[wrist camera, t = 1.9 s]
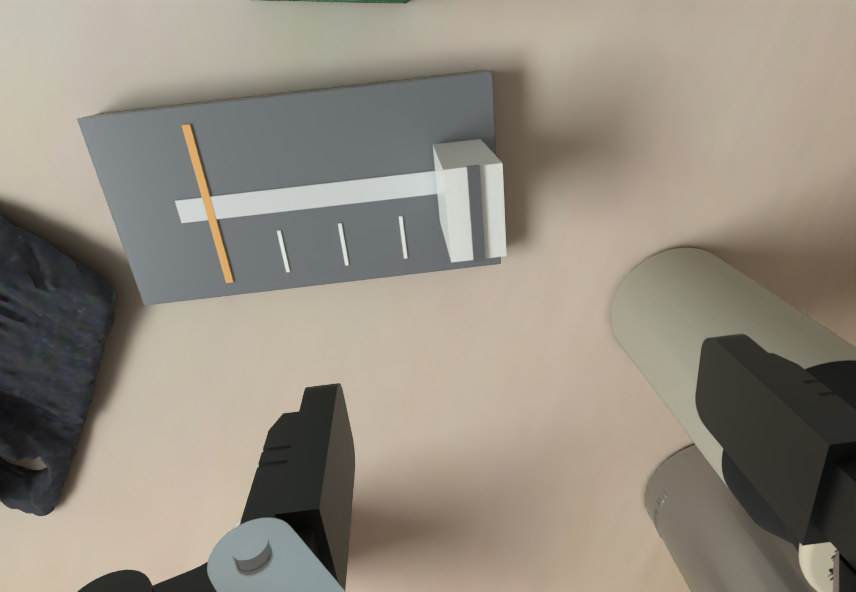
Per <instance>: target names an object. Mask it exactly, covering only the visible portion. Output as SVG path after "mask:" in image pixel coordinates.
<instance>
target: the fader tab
mask: <svg viewBox="0 0 856 592" xmlns="http://www.w3.org/2000/svg"><path fill="white" fill-rule="evenodd" d="M433 154H434V164H435V175H436V185H437V196H438V206H439V217H440V223H441V227H442V231H443V234H444V238H445V241H446V245H447V249H448V252H449V256H450V260H451V263H452V262H460V261H469V260H473V262H474V263H476V262H485V259H486V258H494V257H503V256H506V232H505V208H504V184H503V163H502V162H501V161H500V160H499V159H498V158H497V156H496V155H495V154H494V153H493V152H492V151H491V150H490V149H489V148H488V147H487V146H486V145H485V143H484V142H483V141H482V140H481V139H476V140H467V141H458V142H449V143H441V144H433Z"/></svg>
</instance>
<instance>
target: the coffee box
mask: <svg viewBox="0 0 856 592" xmlns="http://www.w3.org/2000/svg"><path fill="white" fill-rule="evenodd" d="M268 1H317V2H357V3H407V2H409V1H410V0H268Z"/></svg>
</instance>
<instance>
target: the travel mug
mask: <svg viewBox="0 0 856 592" xmlns="http://www.w3.org/2000/svg"><path fill="white" fill-rule="evenodd" d="M610 323H611V328H612V332H613V334H614V336H615V338H616V340H617V342H618V343H619V344H620V346H621V347H622V348H623V350H624V351H625V352H626V354H627V355H628V356H629V358H630V359H631V360H632V362H633V363H634V364H635V366H636V367H637V368H638V370H639V371H640V372H641V373H642V375H643V376H644V377H645V379H646V380H647V381H648V383H649V384H650V385H651V387H652V388H653V389H654V391H655V392H656V393H657V395H658V396H659V397H660V399H661V400H662V401H663V403H664V404H665V405H666V406H667V408H668V409H669V410H670V412H671V413H672V414H673V416H674V417H675V418H676V420H677V421H678V422H679V424H680V425H681V426H682V428H683V429H684V430H685V432H686V433H687V434H688V436H689V437H690V438H691V439H692V441H693V442H694V443H695V445H696V446H697V447H698V449H699V450H700V451H701V453H702V454H703V455H704V457H705V458H706V459H707V461H708V462H709V463H710V465H711V466H712V467H713V468H714V470H715V471H716V472H717V474H718V475H719V476H720V478H721V479H722V480H723V482H724V483H725V484H726V486H727V487H728V488H729V490H730V491H731V492H732V494H733V495H734V496H735V498H736V499H737V500H738V501H739V503H740V504H741V505H742V507H743V508H744V509H745V511H746V512H747V513H748V515H749V516H750V517H751V519H752V520H753V521H754V522H755V523H756V524H757V525H758V526H759V527H761V528H762V529H764V530H765V531H767V532H769V533H771V534H773V535H775V536H777V537H779V538H781V539H783V540H786V541H788V542H790V543H792V544H793V545H794V547H795V548H796V550H797V552H798V553H799V563H800V567H801V570H802V572H803V574H804V576H805V578H806V580H807V581H808V582H809V584H810V585H811V586H812V587H813V588H814V589H815V590H816V591H818V592H833V563H834V558H835V555H836V552H837V549H836V548H835V547H834V546H833V544H832V543H831V542H827V543H819V544H811V545H804V546H802V544H801V543H800V542H799V541H798V540H797V538H796V537H795V536H794V535H793V533H792V532H791V531H790V530H789V529H788V527H787V526H786V525H785V524H784V522H783V521H782V520H781V519H780V518H779V516H778V515H777V514H776V513H775V511H774V510H773V509H772V508H771V507H770V505H769V504H768V503H767V502H766V500H765V499H764V498H763V497H762V496H761V494H760V493H759V492H758V491H757V489H756V488H755V487H754V486H753V485H752V483H751V482H750V481H749V480H748V478H747V477H746V476H745V475H744V474H743V472H742V471H741V470H740V469H739V467H738V466H737V465H736V464H735V463H734V461H733V460H732V459H731V458H730V456H729V455H728V454H727V453H726V452H725V450H724V449H723V448H722V447H721V445H720V444H719V443H718V442H717V441H716V439H715V438H714V437H713V436H712V434H711V433H710V432H709V431H708V430H707V428H706V427H705V426H704V424H703V423H702V421H701V420H700V417H699V415H698V412H697V409H696V403H695V394H696V386H697V378H698V370H699V362H700V354H701V347H702V343H703V342H704V340H705V339H706V338H710V337H718V336H726V335H734V334H745V335H747V336H749V337H750V338H751V339H752V340H753V341H755V342H756V343H757V344H758V345H760V346H761V347H762V348H763V349H764V350H766V351H767V352H768V353H774V354H777V355H779V356H781V357H783V358H785V359H788V360H790V361H792V362H794V363H796V364H798V365H800V366H801V367H802V368H804V369H805V370H806V371H807V372H809V373H810V374H811V375H812V376H814V377H815V378H816V379H817V382H818V383H819V382H821V383H822V384H824V385H825V386H826V387H828V388H829V389H830V390H831V391H833V395H838V396H839V397H840V398H841V399H843V400H844V401H845V402H846V403H848V404H849V405H850V406H851V407H853V408H854V409H855V410H856V347H855V346H853V345H851V344H850V343H848V342H847V341H845V340H844V339H842V338H841V337H839V336H838V335H836V334H835V333H833V332H832V331H830V330H829V329H827V328H826V327H824V326H823V325H821V324H819V323H818V322H816V321H815V320H813V319H812V318H810V317H809V316H807V315H806V314H804V313H803V312H801V311H800V310H798V309H797V308H795V307H794V306H792V305H791V304H789V303H787V302H786V301H784V300H783V299H781V298H780V297H778V296H777V295H775V294H774V293H772V292H771V291H769V290H768V289H766V288H765V287H763V286H762V285H760V284H758V283H757V282H755V281H754V280H752V279H751V278H749V277H748V276H746V275H745V274H743V273H742V272H740V271H739V270H737V269H736V268H734V267H733V266H731V265H730V264H728V263H726V262H725V261H723V260H722V259H720V258H719V257H717V256H716V255H714V254H712V253H710V252H708V251H705V250H702V249H697V248H676V249H671V250H666V251H663V252H660V253H658V254H656V255H654V256H652V257H650V258H648V259H646V260H645V261H643V262H642V263H640V264H639V265H638V266H636V267H635V268H634V269H633V270H632V271H631V272H630V273H629V274H628V275H627V276H626V278H625V279H624V280H623V281H622V283H621V284H620V286H619V288H618V289H617V291H616V294H615V296H614V298H613V301H612V305H611V311H610Z"/></svg>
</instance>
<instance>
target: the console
mask: <svg viewBox="0 0 856 592" xmlns="http://www.w3.org/2000/svg"><path fill="white" fill-rule="evenodd" d="M77 120H78V123H79V126H80V128H81V131H82V134H83V137H84V139H85V142H86V145H87V148H88V151H89V153H90V156H91V159H92V162H93V165H94V167H95V170H96V173H97V176H98V178H99V181H100V184H101V187H102V190H103V192H104V195H105V198H106V201H107V203H108V206H109V209H110V212H111V215H112V217H113V220H114V223H115V226H116V229H117V231H118V234H119V237H120V240H121V242H122V245H123V248H124V251H125V254H126V256H127V259H128V262H129V265H130V267H131V270H132V273H133V276H134V279H135V281H136V284H137V287H138V290H139V292H140V295H141V298H142V301H143V304H144V305H153V304H161V303H170V302H178V301H187V300H195V299H204V298H212V297H221V296H229V295H238V294H247V293H255V292H264V291H272V290H281V289H289V288H298V287H306V286H315V285H323V284H332V283H340V282H349V281H358V280H366V279H375V278H383V277H392V276H400V275H409V274H417V273H426V272H434V271H443V270H452V269H460V268H469V267H477V266H486V265H494V264H501V257H494V258H486V259H485V262H476V263H474V262H473V260H469V261H460V262H452V263H451V260H450V256H449V252H448V249H447V245H446V241H445V238H444V234H443V231H442V227H441V223H440V217H439V206H438V196H437V185H436V175H435V164H434V154H433V144H441V143H449V142H458V141H467V140H476V139H481V140H482V141H483V142H484V143H485V145H486V146H487V147H488V148H489V149H490V150H491V151H492V152H493V153H494V154H495V155H496V150H495V129H494V108H493V86H492V72H489V71H486V70H484V71H475V72H466V73H457V74H448V75H440V76H431V77H422V78H413V79H404V80H395V81H386V82H377V83H368V84H359V85H350V86H341V87H333V88H324V89H315V90H306V91H297V92H288V93H279V94H270V95H261V96H252V97H243V98H234V99H226V100H217V101H208V102H199V103H190V104H181V105H172V106H163V107H154V108H145V109H136V110H127V111H119V112H110V113H101V114H95V115H91V116H87V117H83V118H79V119H77Z"/></svg>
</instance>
